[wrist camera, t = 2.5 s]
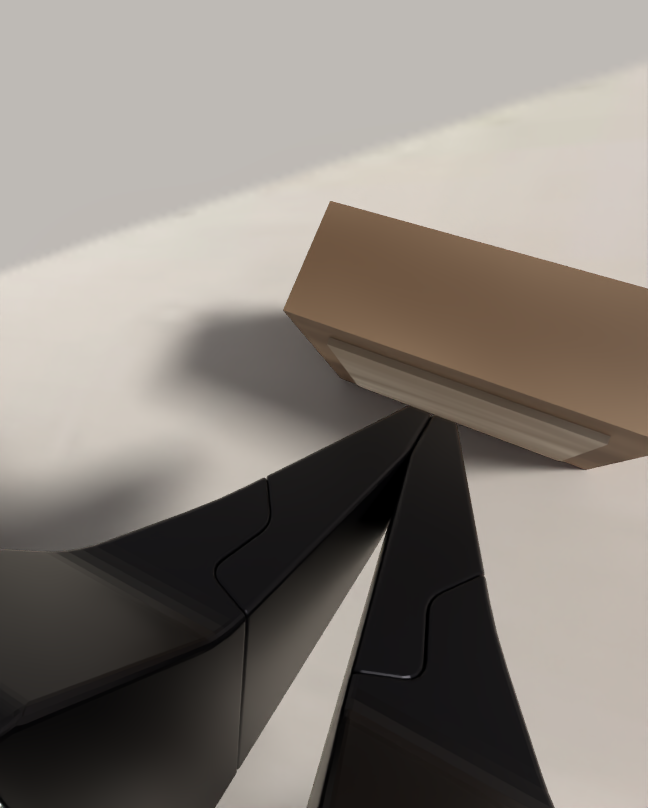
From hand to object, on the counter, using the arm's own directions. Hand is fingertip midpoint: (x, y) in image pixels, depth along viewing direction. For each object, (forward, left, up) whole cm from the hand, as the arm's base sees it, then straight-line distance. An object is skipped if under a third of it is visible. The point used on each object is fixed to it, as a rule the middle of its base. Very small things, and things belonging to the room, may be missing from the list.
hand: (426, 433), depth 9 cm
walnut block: (+3, -2, -10) cm, 11 cm away
